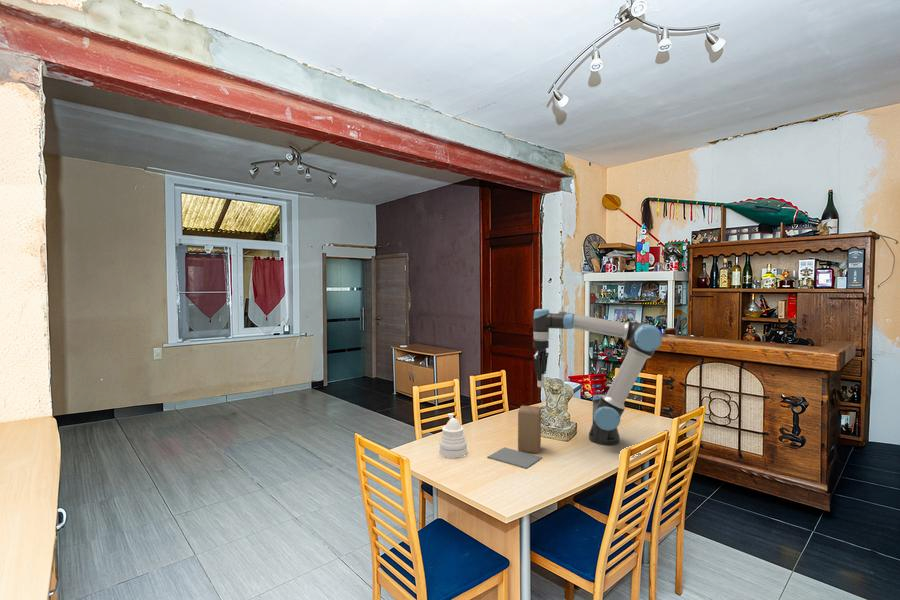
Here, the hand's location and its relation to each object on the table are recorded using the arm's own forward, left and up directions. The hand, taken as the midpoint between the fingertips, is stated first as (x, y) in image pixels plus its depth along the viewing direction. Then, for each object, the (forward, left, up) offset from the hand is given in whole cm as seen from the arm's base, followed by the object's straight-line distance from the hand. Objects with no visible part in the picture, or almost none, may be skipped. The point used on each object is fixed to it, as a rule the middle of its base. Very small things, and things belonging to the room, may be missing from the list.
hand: (540, 386), depth 223 cm
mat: (0, +25, -28) cm, 38 cm away
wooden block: (0, +11, -29) cm, 31 cm away
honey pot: (+26, +38, -29) cm, 54 cm away
